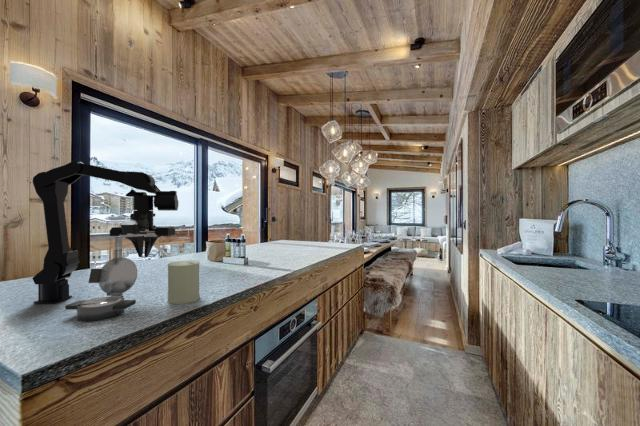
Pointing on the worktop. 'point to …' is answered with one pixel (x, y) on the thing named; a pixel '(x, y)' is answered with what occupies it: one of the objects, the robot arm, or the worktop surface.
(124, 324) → the worktop surface
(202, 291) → the worktop surface
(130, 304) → the pot
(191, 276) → the can
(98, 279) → the lid
